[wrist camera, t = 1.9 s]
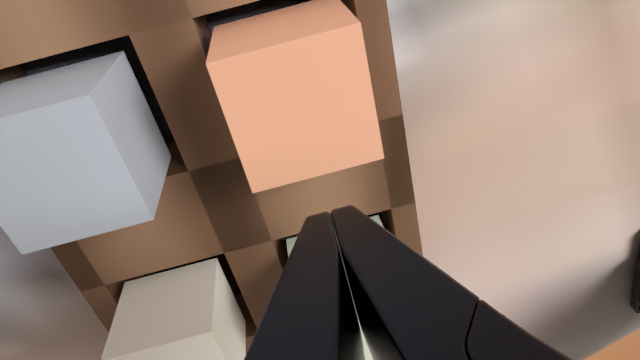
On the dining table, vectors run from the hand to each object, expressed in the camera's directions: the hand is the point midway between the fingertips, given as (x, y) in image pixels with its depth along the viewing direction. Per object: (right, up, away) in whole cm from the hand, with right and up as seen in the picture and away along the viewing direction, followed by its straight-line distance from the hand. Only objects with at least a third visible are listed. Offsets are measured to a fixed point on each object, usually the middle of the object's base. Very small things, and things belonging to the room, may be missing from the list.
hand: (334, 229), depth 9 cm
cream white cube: (-6, -5, +13) cm, 15 cm away
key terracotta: (-1, +5, +8) cm, 9 cm away
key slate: (-8, +3, +8) cm, 12 cm away
